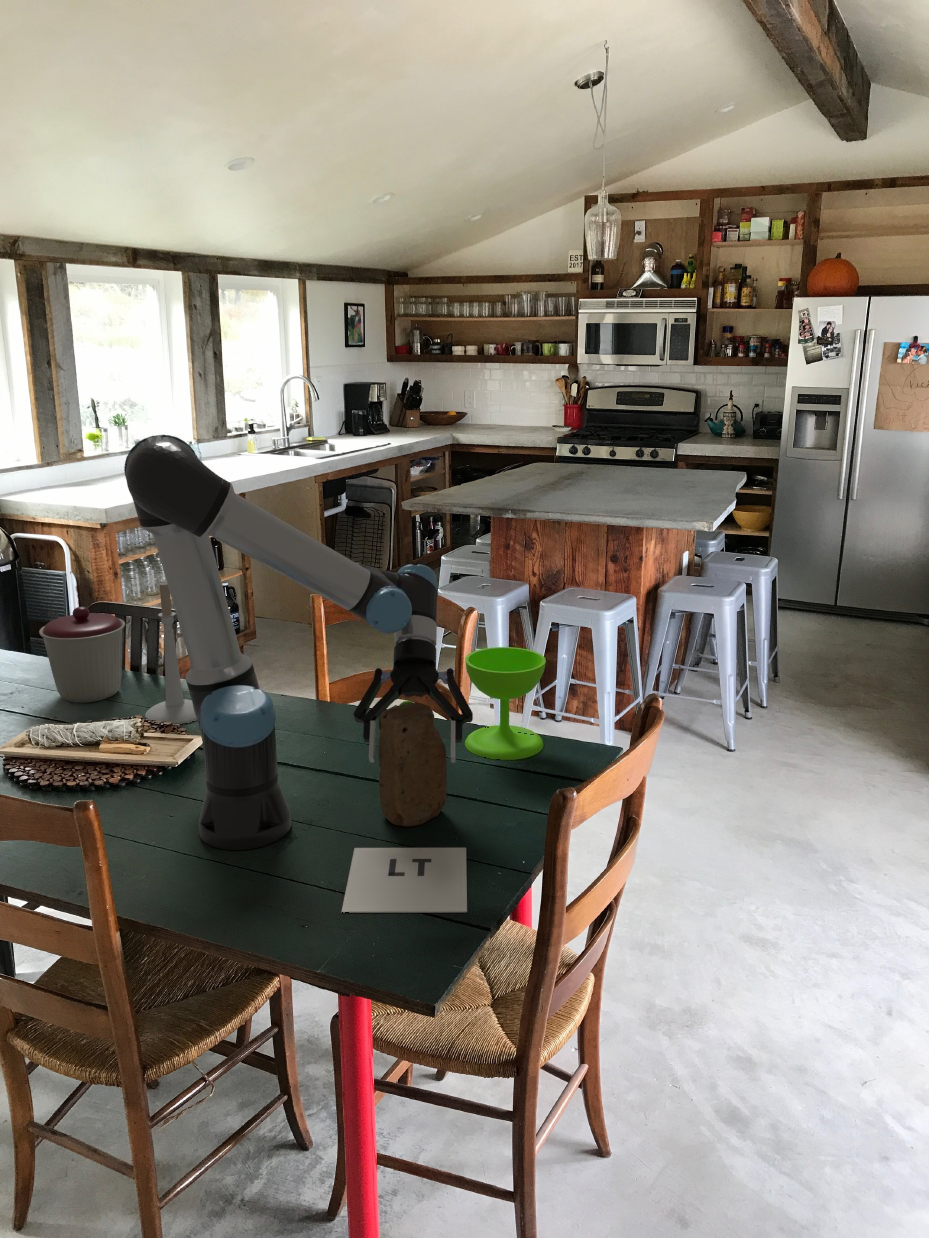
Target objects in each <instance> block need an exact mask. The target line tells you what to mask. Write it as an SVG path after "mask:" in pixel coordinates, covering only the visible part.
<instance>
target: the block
mask: <svg viewBox="0 0 929 1238" xmlns="http://www.w3.org/2000/svg"><path fill="white" fill-rule="evenodd" d="M392 707H393V706H392ZM389 708H390V709H389ZM389 708H387V710H385V711H383V712H382V714H381V716H379V717H380V722H381V726H382V728H381V729H379V740H378V741H379V742H378V743H379V744H378V766H379V772H378V787H379V788H378V789H379V801H380V808H381V812H382V813H383V815H384V817H385V818H386V819H387V820H388V821H389V822H390V823H391V824H392V825H395V826H399V827H400V826H401V827H416V826H419V825H423V824H425V823H426V822H428V821H429V820H432V819H434V818H436V817H438V816H439V814H440V812H441V811H442V810H443V807H444V805H445V803H446V801H447V791H448V790H447V789H448V788H447V787H448V761H447V759H448V758H447V749H446V748H447V747H446V745H445V743H444V742H443V739H442V737H441V734H440V732H439V730H438V729H437V728H436V726H435V725H434V722H435V721H434V720H435V714H434V711H433V709H432V708H431V706H429V705H427V704H425V703H422V702H414V701H413V703H410V704H408V705H400V704H398V705H397V706H396V707H393V708H391V707H389Z"/></svg>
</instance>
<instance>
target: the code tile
mask: <svg viewBox="0 0 929 1238" xmlns="http://www.w3.org/2000/svg"><path fill="white" fill-rule="evenodd" d="M349 869H350V870H349V873H348V879H347V883H346V888H345V893H344V898H343V903H342V908H341V913H342V912H343V913H342V914H346V913H345V912H349V913H348V914H351V913H352V914H354V913H355V914H360V913H361V914H364V913H365V914H366V913H367V914H373V913H375V914H376V913H379V914H383V913H384V914H385V913H386V914H387V913H389V914H390V913H392V914H396V913H398V914H400V913H403V914H405V913H406V914H407V913H408V914H412V913H421V914H422V913H423V914H424V913H433V914H434V913H435V914H436V913H441V914H442V913H444V914H446V913H451V914H452V913H468V897H467V895H468V894H467V892H468V890H467V889H468V887H467V886H468V883H467V847H354V850H353V855H352V858H351V863H350V868H349Z"/></svg>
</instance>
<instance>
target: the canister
mask: <svg viewBox="0 0 929 1238" xmlns="http://www.w3.org/2000/svg"><path fill="white" fill-rule="evenodd" d="M125 626H126V622H125V621H124V620H123V619H121V618H118V617H116V616H115V615H112V614H107V613H100V612H98V613H96V612H92V613H91V612H90V610H89V608H87V607H85V606H78V607H75V608H74V609H73V611H72V614H70V615H65V616H61V617H58V618H56V619H53V620H50V621H49V622H48V623H47V624H45V625H44V626H42V627H41V628H40V629H39V631H38V634H39V636H41V637H42V638H43V642H44V645H45V646H44V647H45V650H46V654H47V658H48V661H49V666H50V670H51V674H52V678H53V680H54V684H55V687H56V690H57V693H58V694H59V696H60V697H61V698H63V700H65V701H67V702H71V703H81V704H82V703H83V704H84V703H92V702H94V703H95V702H99V701H102V700H105V699H108V698H110V697H113V696H115V695H116V694H117V692H118V691H119V689H120V688H121V684H122V683H121V682H122V675H123V674H122V673H123V671H122V670H123V630H124V628H125Z"/></svg>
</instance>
